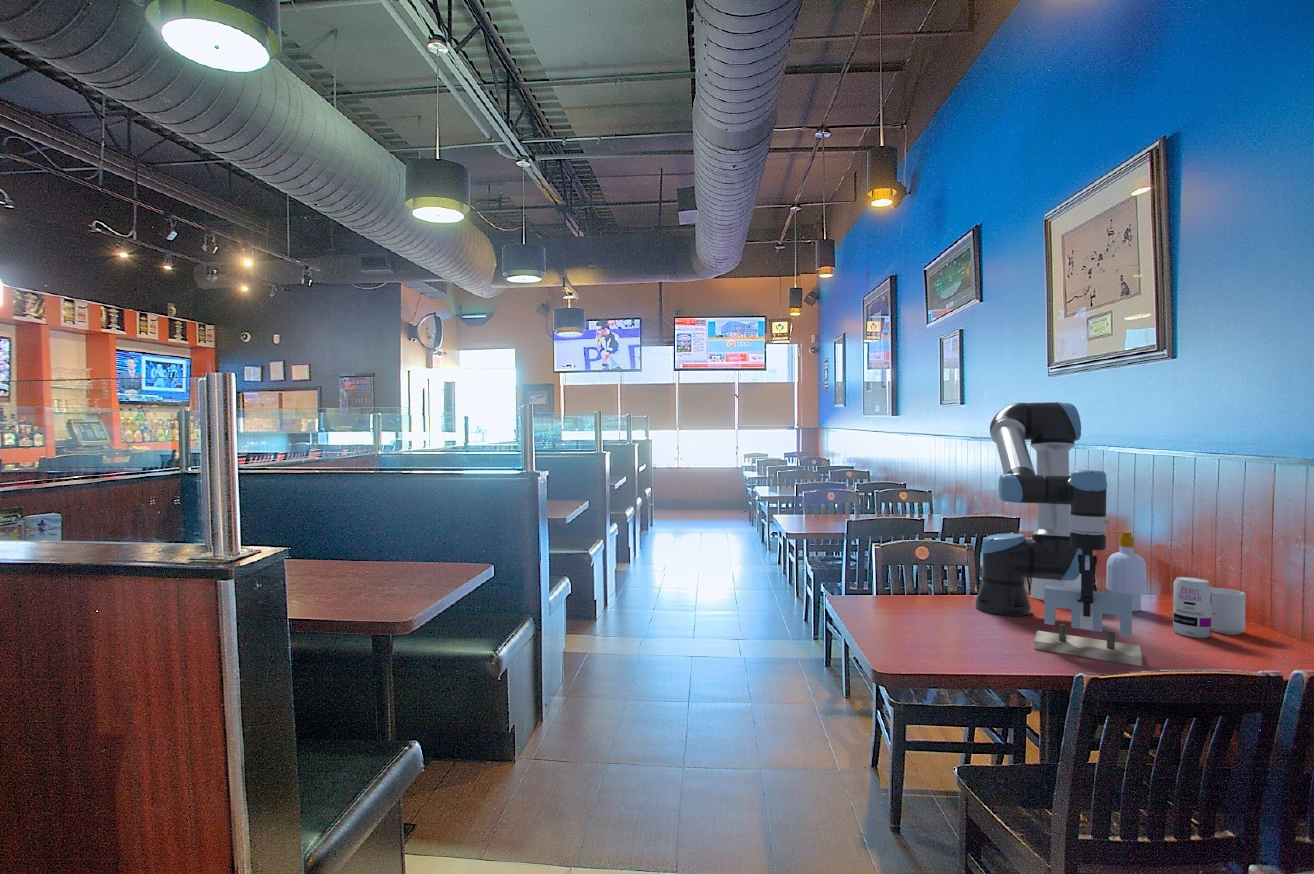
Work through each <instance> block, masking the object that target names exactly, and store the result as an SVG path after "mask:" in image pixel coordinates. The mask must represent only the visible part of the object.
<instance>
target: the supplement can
mask: <svg viewBox="0 0 1314 874" xmlns="http://www.w3.org/2000/svg"><path fill="white" fill-rule="evenodd" d="M1172 583H1173V586H1172V588H1173V589H1172V591H1173V597H1172V603H1173V604H1172V630H1173V631H1175V633H1176V634H1178V635H1181V636H1184V637H1188V638H1197V639H1207V638H1209V637H1210V636H1212V631H1211V601H1212V588H1213V587H1212V585H1211V584H1210V581H1209V580H1207V579H1204V578H1200V577H1199V578H1198V577H1192V576H1178V577H1177V576H1176V578H1175V580H1174V581H1173V582H1172Z"/></svg>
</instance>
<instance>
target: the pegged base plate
mask: <svg viewBox="0 0 1314 874" xmlns="http://www.w3.org/2000/svg"><path fill="white" fill-rule="evenodd" d="M1067 630H1068V629H1067V624H1062V623H1061V624H1058V631H1059V632H1049V631H1043V630H1036V634H1035V637H1034V640H1033V649H1034V650H1039V651H1048V652H1052V653H1058V654H1065V655H1072V656H1077V657H1083V658H1087V659H1088V658H1089V659H1096V660H1101V661H1108V662H1114V663H1115V662H1116V663H1118V664H1119V663H1121V664H1126V665H1127V664H1128V665H1133V666H1139V667H1143V655H1142V652H1141V645H1137V644H1131V643H1130V644H1129V643H1125V642H1124V643H1123V642H1117V641H1115V640H1116V632H1115V631H1113V630H1112V631H1110V630H1107V631H1106V640H1104V639H1103V640H1102V639H1098V638H1097V639H1095V638H1090V637H1085V636H1077V635H1070V634H1067V633H1068V632H1067Z"/></svg>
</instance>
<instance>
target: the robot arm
mask: <svg viewBox="0 0 1314 874" xmlns="http://www.w3.org/2000/svg"><path fill="white" fill-rule="evenodd" d="M989 434H990V437H991V439H992V441H993V442H994V443H995V444H996V448H997V451H998V455H999V460H1000V463H1001V468H1002V471H1003V474H1001V475H1000V476H999V479H998V496H999V499H1000V500H1001V501H1002V502H1004V503H1005V502H1006V503H1007V502H1008V503H1015V504H1020V503H1021V504H1036V507H1037V517H1036V518H1037V528H1036V529H1035V530H1034V531H1033V532H1032V533H1031V539H1027V538H1026V536H1025V534H1022V533H998V534H996V533H995V534H991V535H987V536H986V537H985V538H983V541H982V549H981V553H982V567H981V568H982V569H981V570H982V571H981V585H980V587H979V590H978V593H977V595H976V598H975V608H976V609H978V610H980V611H982V612H986V613H989V614H994V615H995V614H996V615H1001V616H1009V617H1024V616H1028V615H1030V614H1031V613H1032V612H1031V609H1032V608H1031V607H1032V606H1031V603H1030V600H1029V597H1028V594H1027V590H1026V587H1025V579H1029V578H1030V579H1032V578H1037V579H1050V580H1058V581H1061V580H1068V581H1072V580H1075V579H1077V578H1078V576H1079V575H1080V574H1081V597H1080V600H1079V599H1077V602H1080V629H1079V630H1084V629H1087V630H1086V631H1091V630H1093V601H1094V599H1093V591H1094V576H1095V575H1096V572H1097V571H1096V565H1097V563H1098V557H1097V555H1094V551H1104V550H1106V548H1107V536H1106V535H1105V534H1104V533H1105V532H1106V531H1107V528H1106V527H1107V526H1106V525H1108V524H1110V521H1109V519H1107V493H1108V492H1107V488H1108V483H1107V474H1106V472H1105V471H1103V470H1095V469H1091V470H1090V469H1074V470H1072V471H1071V473H1070V453H1069V452H1070V451H1071V450H1072V449H1073V448H1074V447H1075V442H1077V441H1079V440H1080V439H1081V436H1082V422H1081V418H1080V414H1079V411H1078V409H1077V407H1076V406H1075V404H1072V403H1070V402H1058V401H1056V402H1017V403H1016V402H1015V403H1011V404H1010V405H1007V406H1005V407H1004V408H1002V409H1001V410H999V411H998V412H997V413H996V414H995V416H994V417H993V418H992V420H991V422H990V425H989ZM1026 440H1027V441H1030V447H1032V448H1033V450H1035V452H1036V472H1035V469H1034V466H1033V462H1032V459H1031V456H1030V452H1029V449H1028V446H1027V442H1026ZM1106 519H1107V520H1106ZM1071 530H1072V531H1073V532H1071Z"/></svg>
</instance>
